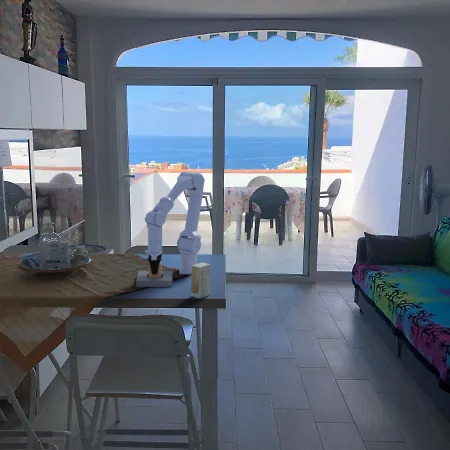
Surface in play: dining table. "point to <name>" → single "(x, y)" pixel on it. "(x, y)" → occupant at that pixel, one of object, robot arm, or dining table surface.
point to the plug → (157, 273)
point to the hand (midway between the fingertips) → (154, 272)
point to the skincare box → (200, 280)
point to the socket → (154, 279)
